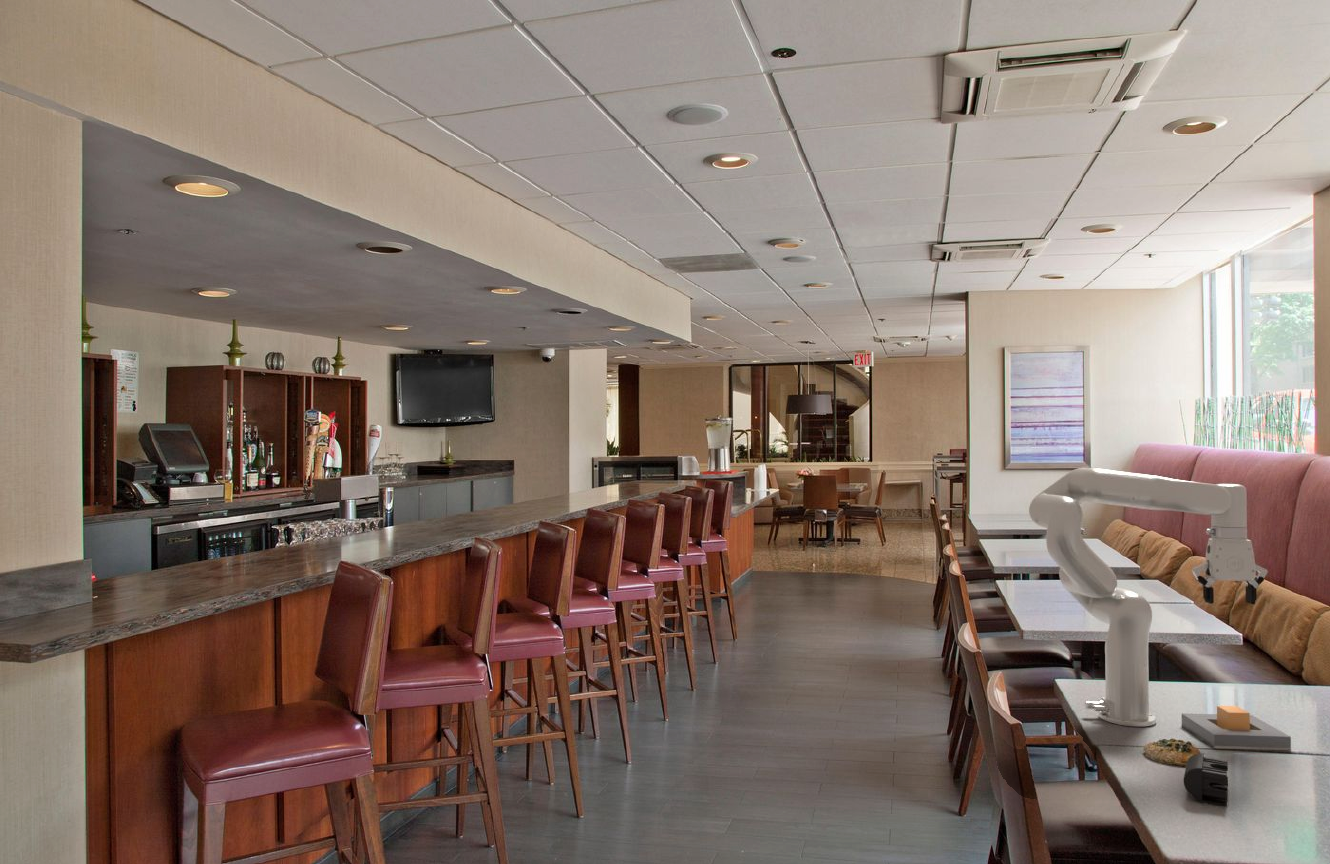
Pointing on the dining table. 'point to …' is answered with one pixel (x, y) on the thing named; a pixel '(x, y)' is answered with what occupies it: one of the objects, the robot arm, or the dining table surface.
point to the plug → (1233, 718)
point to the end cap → (1207, 780)
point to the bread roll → (1170, 751)
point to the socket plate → (1236, 733)
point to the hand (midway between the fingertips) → (1229, 603)
